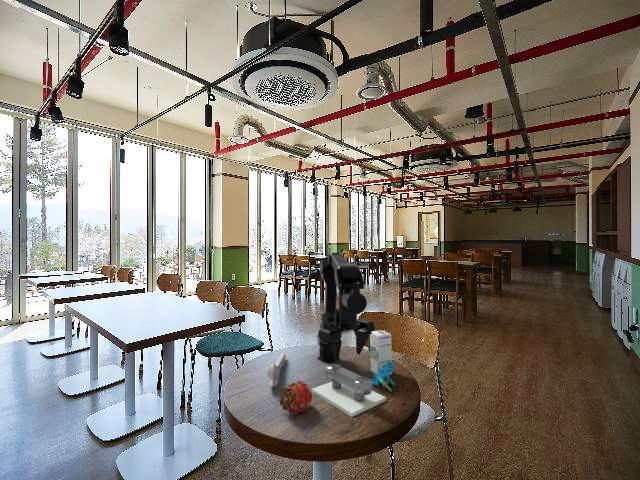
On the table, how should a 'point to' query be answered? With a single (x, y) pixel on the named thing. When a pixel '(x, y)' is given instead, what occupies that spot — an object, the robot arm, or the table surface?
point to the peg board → (347, 398)
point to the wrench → (275, 370)
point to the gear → (384, 376)
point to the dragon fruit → (296, 397)
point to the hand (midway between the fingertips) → (347, 357)
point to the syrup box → (379, 350)
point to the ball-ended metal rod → (349, 379)
